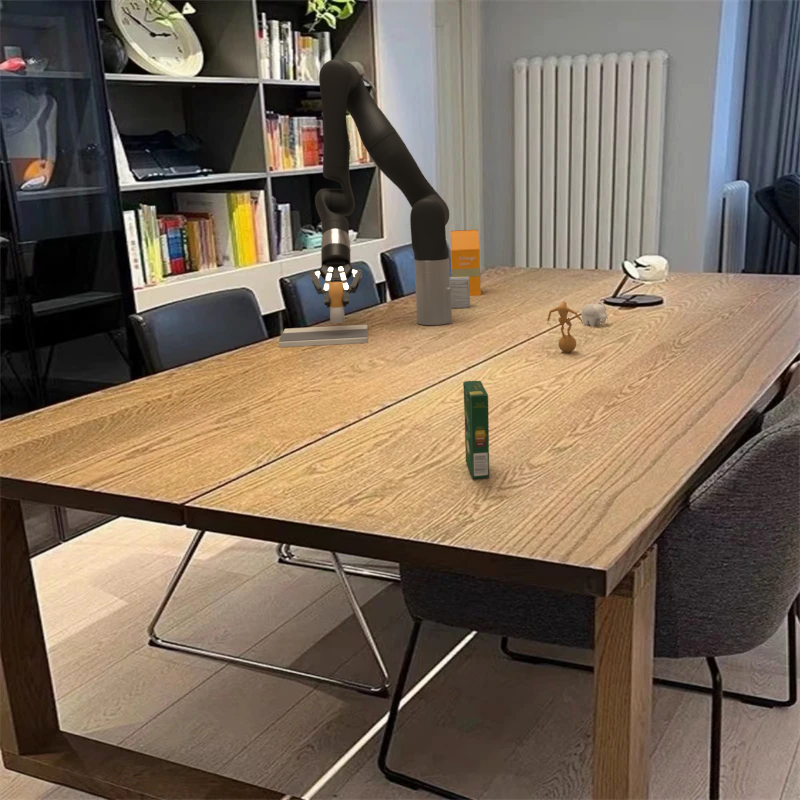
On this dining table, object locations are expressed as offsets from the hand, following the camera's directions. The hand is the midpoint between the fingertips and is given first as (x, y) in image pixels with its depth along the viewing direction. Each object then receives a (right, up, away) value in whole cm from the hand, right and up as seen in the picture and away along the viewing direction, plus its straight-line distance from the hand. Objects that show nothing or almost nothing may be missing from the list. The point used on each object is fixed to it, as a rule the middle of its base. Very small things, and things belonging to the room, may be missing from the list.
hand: (336, 305), depth 242 cm
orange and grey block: (0, -4, +2) cm, 5 cm away
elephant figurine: (+65, -5, +5) cm, 66 cm away
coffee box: (+28, -35, -97) cm, 106 cm away
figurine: (+53, -13, -24) cm, 60 cm away
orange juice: (+37, +9, +63) cm, 73 cm away
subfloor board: (-3, -8, +6) cm, 11 cm away
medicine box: (+32, +3, +40) cm, 52 cm away
